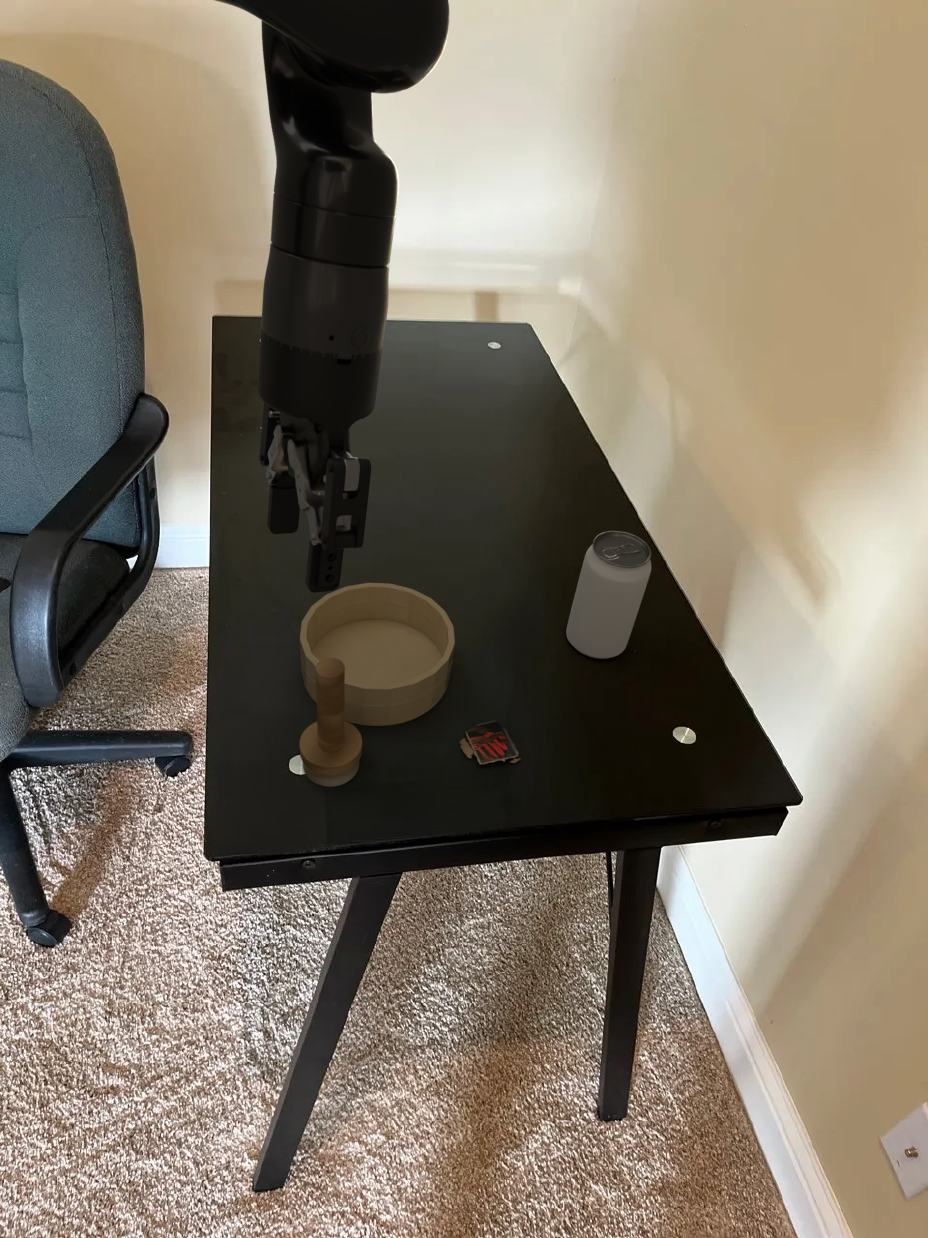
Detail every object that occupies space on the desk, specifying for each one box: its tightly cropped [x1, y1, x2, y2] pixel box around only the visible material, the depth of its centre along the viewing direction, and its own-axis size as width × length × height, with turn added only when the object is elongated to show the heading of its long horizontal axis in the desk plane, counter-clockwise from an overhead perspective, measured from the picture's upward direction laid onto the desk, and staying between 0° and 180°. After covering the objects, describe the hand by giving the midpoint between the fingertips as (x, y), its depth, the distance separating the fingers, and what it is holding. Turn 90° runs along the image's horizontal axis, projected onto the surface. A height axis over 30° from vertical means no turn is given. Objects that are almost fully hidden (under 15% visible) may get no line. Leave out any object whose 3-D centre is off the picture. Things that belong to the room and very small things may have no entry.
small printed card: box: [458, 720, 522, 765], centre depth 74 cm, size 5×5×1 cm
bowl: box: [299, 582, 456, 727], centre depth 78 cm, size 14×14×5 cm
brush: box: [298, 657, 363, 788], centre depth 67 cm, size 5×5×12 cm
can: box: [565, 530, 652, 660], centre depth 82 cm, size 6×6×12 cm
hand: (301, 559), depth 60 cm, fingers open, 8 cm apart
